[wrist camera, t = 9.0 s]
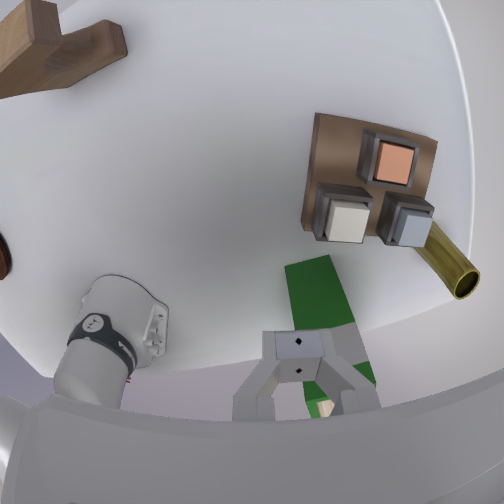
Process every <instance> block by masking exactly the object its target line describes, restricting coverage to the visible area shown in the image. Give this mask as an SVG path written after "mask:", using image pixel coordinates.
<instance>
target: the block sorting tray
mask: <svg viewBox="0 0 504 504" xmlns="http://www.w3.org/2000/svg"><path fill="white" fill-rule="evenodd" d="M380 140H382V141H387V142H391V143H396V144H400V145H403V146H405V147H407V148H409V149H412V150H414V153H413V158H412V163H411V168H410V172H409V177H408V181H407V184H403V183H397V182H392V181H386V180H380V179H376V178H375V177H374V176H373V174H374V169H375V164H376V158H377V153H378V147H379V141H380ZM437 143H438V141H435V140H433V139H430V138H428V137H425V136H421V135H418V134H415V133H411V132H407V131H404V130H400V129H396V128H392V127H388V126H384V125H380V124H375V123H371V122H366V121H361V120H356V119H351V118H345V117H340V116H334V115H328V114H321V113H315V118H314V127H313V136H312V144H311V153H310V160H309V168H308V176H307V183H306V190H305V197H304V204H303V211H302V217H301V223H302V226H303V229H304V231H311V232H313V233H314V236H315V238H316V241H328V238H327V236H326V234H325V232H324V230H323V229H324V224H325V219H326V214H327V208H328V203H329V198H333V199H343V200H352V201H361V202H363V203H364V204H365V205H366V207H367V208H368V209H369V210H370V212H369V216H368V220H367V224H366V228H365V232H364V235H363V239H362V243H360V244H363V240H364V236H365V235H367V236H379V237H380V238H381V240H382V241H383V242H384V244H385V245H389V246H400V245H398V244H397V243H396V242H395V240H394V239H393V238H392V235H393V232H394V228H395V225H396V222H397V218H398V215H399V211H400V207H407V208H413V209H420V210H424V211H425V212H426V213H428V214H429V215H430V216H431V217H432V215H433V212H434V207H433V206H432V205H431V204H430V203H428V202H427V201H426V200H425V195H426V191H427V188H428V184H429V180H430V176H431V171H432V167H433V163H434V158H435V153H436V149H437ZM329 242H342V241H329ZM345 243H357V242H345ZM403 247H413V246H403ZM416 248H421V247H416Z"/></svg>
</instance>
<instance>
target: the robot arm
mask: <svg viewBox="0 0 504 504" xmlns="http://www.w3.org/2000/svg"><path fill="white" fill-rule="evenodd" d="M82 304H83V305H82V308H81V310H80V312H79V314H78V317H77V319H76V322H75V324H74V330H73V332H71V334H70V336H69V340H68V343H67V349H66V351H65V353H64V356H63V358H62V360H61V362H60V364H59V366H58V368H57V370H56V372H55V375H54V389H55V393H56V394H52V395H50V396H48V397H46V398H44V399H43V400H41V401H40V402H38V403H37V404H36V405H34V406H33V407H29V406H27V405H25V404H23V403H21V402H19V401H17V400H15V399H13V398H11V397H9V396H7V395H1V396H0V479H1V482H2V486H3V490H2V497H1V504H504V368H503V369H501V370H498V371H496V372H494V373H491V374H489V375H487V376H484V377H482V378H479V379H477V380H474V381H472V382H469V383H466V384H464V385H461V386H458V387H455V388H453V389H449V390H446V391H443V392H440V393H437V394H434V395H430V396H427V397H424V398H420V399H416V400H413V401H409V402H405V403H401V404H397V405H392V406H388V407H383V408H381V405H380V402H379V398H378V395H377V392H376V388H375V385H374V384H373V383H371V382H370V381H369V380H368V379H367V378H365V377H364V376H363V375H362V374H361V373H360V372H358V371H357V370H356V369H355V368H354V367H353V366H352V365H350V364H349V363H348V362H347V361H346V360H345V359H343V358H342V357H341V356H337V353H336V349H335V346H334V342H333V338H332V335H331V331H330V329H329V328H325V329H309V330H296V331H263V336H262V361H260V362H259V364H258V365H257V366H256V367H255V369H254V370H253V371H252V373H251V374H250V375H249V377H248V378H247V379H246V380H245V382H244V383H243V384H242V386H241V387H240V388H239V390H238V391H237V392H236V393H235V395H234V396H233V415H232V421H206V420H192V419H180V418H171V417H163V416H155V415H148V414H141V413H135V412H129V411H124V410H120V405H121V400H122V395H123V391H124V387H125V383H126V382H129V381H126V380H127V379H131V378H130V377H129V376H130V375H131V374H132V372H133V371H134V370H135V369H138V368H145V367H148V366H149V365H150V364H151V361H152V358H153V357H159V356H162V355H164V353H165V350H166V335H167V321H168V308H167V307H166V306H165V305H164V304H162V303H161V302H159V301H157V300H155V299H154V298H153V297H151V295H150V294H149V293H148V292H147V291H146V290H145V289H143V288H142V287H141V286H140V285H138V284H137V283H135V282H133V281H131V280H129V279H126V278H123V277H120V276H112V275H110V276H103V277H100V278H98V279H97V280H96V281H95V282H94V283H93V284H92V286H91V289H90V291H89V292H88V293H87V294H85V295H84V296H83V298H82ZM161 314H162V315H161ZM298 381H299V382H300V381H315V382H316V383H317V384H318V386H319V387H320V388H321V389H322V390H323V391H324V393H325V394H326V395H327V396H328V397H329V398H330V400H331V401H332V402H333V403H334V404H335V406H334V408H333V410H332V411H331V413H330V415H329V417H320V418H310V419H299V420H285V421H275V407H274V399H273V398H272V397H271V395H272V394H273V392H274V390H275V389H276V387H277V385H278V383H286V382H298ZM129 383H130V382H129Z"/></svg>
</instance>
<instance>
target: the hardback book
mask: <svg viewBox="0 0 504 504" xmlns="http://www.w3.org/2000/svg"><path fill="white" fill-rule="evenodd" d="M285 272H286V278H287V284H288V290H289V296H290V302H291V308H292V314H293V320H294V327H295V331H296V330H309V329H325V328H329V329H330V331H331V335H332V338H333V342H334V346H335V349H336V353H337V356H341V357H342V358H343V359H345V360H346V361H347V362H348V363H349V364H350V365H352V366H353V367H354V368H355V369H356V370H357V371H358V372H360V373H361V374H362V375H363V376H364V377H365V378H367V379H368V380H369V381H370V382H371V383H373V384H374V385H375V388H376V381H375V377H374V374H373V372H372V368H371V365H370V362H369V359H368V356H367V353H366V350H365V347H364V345H363V342H362V339H361V336H360V333H359V330H358V328H357V325H356V322H355V319H354V317H353V314H352V311H351V309H350V306H349V303H348V301H347V298H346V296H345V293H344V291H343V288H342V285H341V283H340V280H339V278H338V276H337V273H336V271H335V268H334V266H333V263H332V261H331V258H330V256H329V255H325V256H321V257H317V258H314V259H310V260H306V261H302V262H298V263H295V264H291V265H287V266H285ZM303 388H304V395H305V402H306V405H307V407H308V410H309V412H310V415H311V418H320V417H329V415H330V413H331V411H332V410H333V408H334V406H335V404H334V403H333V402H332V401H331V400H330V398H329V397H328V396H327V395H326V394H325V393H324V391H323V390H322V389H321V388H320V387H319V386H318V384H317V383H316V382H315V381H303Z"/></svg>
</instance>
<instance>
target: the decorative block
mask: <svg viewBox="0 0 504 504" xmlns="http://www.w3.org/2000/svg"><path fill="white" fill-rule="evenodd" d="M127 53H128V52H127V49H126V45H125V41H124V37H123V33H122V29H121V25H118V24H116V23H113V22H111V21H108V20H102V21H100V22H98V23H96V24H93V25H91V26H89V27H87V28H84V29H81V30H78V31H75V32H73V33H69V34H65V35H62V34H61V29H60V23H59V17H58V11H57V4H55V3H50V2H47V1H42V0H24V1H23V2H22V3H20V4H19V5H18V6H17V7H16V8H15V9H14V10H13V11H11V12H10V14H8V15H7V16H6V17H5V18H4V19H3V20H2V21H1V22H0V99H3V98H8V97H12V96H17V95H22V94H27V93H33V92H39V91H46V90H53V89H61V88H68V87H70V86H71V85H73V84H75V83H76V82H78V81H80V80H81V79H83V78H85V77H86V76H88V75H90V74H92V73H94V72H95V71H97V70H99V69H101V68H103V67H105V66H107V65H108V64H110V63H112V62H114V61H116V60H118V59H120V58H123V57H125V56H126V55H127Z"/></svg>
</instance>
